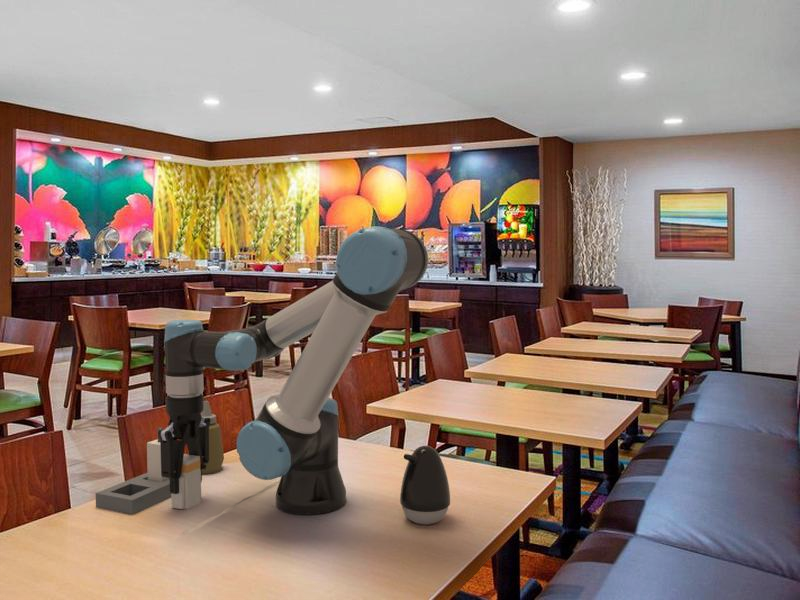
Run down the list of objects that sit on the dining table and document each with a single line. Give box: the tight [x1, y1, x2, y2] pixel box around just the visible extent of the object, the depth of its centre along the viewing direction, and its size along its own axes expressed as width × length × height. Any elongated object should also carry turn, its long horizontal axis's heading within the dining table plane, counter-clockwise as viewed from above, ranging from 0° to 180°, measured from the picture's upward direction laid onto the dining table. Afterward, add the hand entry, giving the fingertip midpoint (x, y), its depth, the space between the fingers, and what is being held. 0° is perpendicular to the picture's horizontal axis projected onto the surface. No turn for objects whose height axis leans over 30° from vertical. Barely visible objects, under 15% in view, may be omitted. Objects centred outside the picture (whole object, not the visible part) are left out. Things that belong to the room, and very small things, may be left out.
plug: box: [181, 453, 202, 510], centre depth 142 cm, size 4×4×11 cm
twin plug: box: [146, 427, 169, 482], centre depth 150 cm, size 4×4×14 cm
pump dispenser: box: [399, 445, 451, 525], centre depth 136 cm, size 10×10×15 cm
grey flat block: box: [95, 471, 171, 516], centre depth 146 cm, size 10×18×4 cm, turn 157°
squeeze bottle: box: [200, 400, 225, 475], centre depth 164 cm, size 8×8×18 cm
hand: (186, 503), depth 142 cm, fingers open, 4 cm apart
